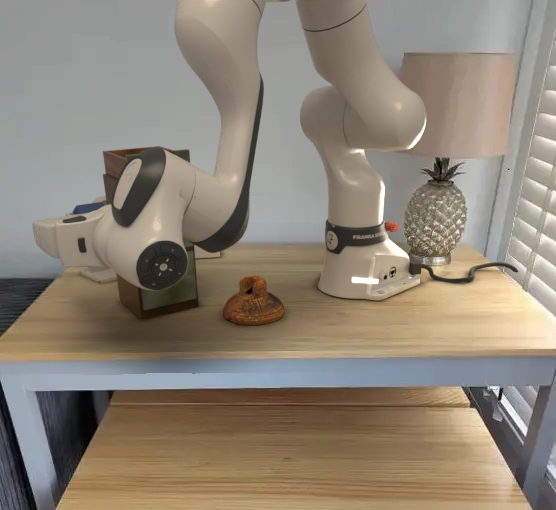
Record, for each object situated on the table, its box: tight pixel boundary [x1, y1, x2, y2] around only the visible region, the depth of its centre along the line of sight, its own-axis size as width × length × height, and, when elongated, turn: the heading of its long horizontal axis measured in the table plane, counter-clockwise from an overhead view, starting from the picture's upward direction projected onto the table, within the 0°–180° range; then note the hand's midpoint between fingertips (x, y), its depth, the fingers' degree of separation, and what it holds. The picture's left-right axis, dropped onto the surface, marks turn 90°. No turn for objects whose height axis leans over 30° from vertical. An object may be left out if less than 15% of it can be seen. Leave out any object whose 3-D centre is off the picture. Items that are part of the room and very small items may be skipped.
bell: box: [222, 275, 285, 326], centre depth 116 cm, size 12×12×7 cm
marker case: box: [71, 202, 104, 214], centre depth 106 cm, size 4×20×3 cm
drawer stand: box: [102, 145, 200, 321], centre depth 115 cm, size 12×13×30 cm
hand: (87, 215), depth 100 cm, fingers closed on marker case, 4 cm apart
